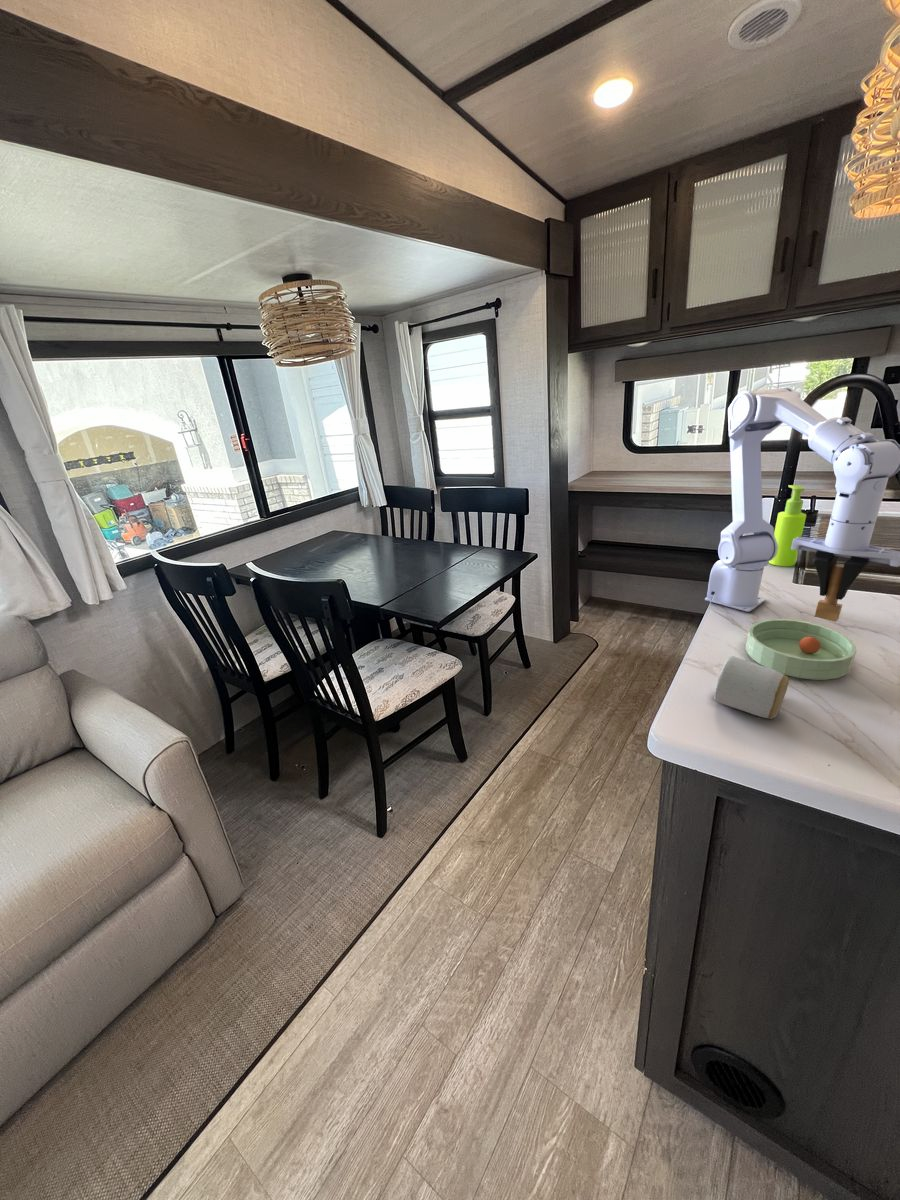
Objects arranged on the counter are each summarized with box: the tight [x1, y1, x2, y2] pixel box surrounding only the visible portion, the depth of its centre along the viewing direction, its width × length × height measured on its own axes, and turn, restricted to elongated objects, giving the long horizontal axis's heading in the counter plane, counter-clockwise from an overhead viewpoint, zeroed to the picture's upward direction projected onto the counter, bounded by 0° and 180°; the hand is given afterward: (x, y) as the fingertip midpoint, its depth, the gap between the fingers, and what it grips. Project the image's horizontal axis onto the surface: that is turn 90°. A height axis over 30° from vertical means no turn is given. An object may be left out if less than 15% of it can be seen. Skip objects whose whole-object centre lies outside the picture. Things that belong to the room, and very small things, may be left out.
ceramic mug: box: [713, 655, 790, 720], centre depth 71 cm, size 11×8×8 cm
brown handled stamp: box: [814, 563, 844, 623], centre depth 81 cm, size 3×2×10 cm, turn 37°
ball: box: [799, 637, 820, 654], centre depth 83 cm, size 3×3×3 cm
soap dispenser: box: [768, 484, 807, 567], centre depth 120 cm, size 6×7×20 cm
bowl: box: [745, 618, 857, 681], centre depth 82 cm, size 15×15×4 cm
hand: (832, 595), depth 81 cm, fingers closed on brown handled stamp, 2 cm apart
